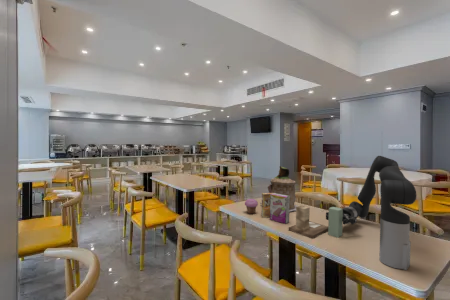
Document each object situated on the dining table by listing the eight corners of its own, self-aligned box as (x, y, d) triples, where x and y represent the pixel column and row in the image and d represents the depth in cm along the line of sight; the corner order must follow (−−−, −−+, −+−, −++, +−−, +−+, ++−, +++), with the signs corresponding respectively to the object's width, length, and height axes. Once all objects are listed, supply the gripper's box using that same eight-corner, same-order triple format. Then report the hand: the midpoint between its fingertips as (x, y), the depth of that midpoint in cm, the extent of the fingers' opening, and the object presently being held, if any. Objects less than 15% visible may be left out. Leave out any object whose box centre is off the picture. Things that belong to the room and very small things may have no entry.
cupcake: (246, 215, 144) (247, 200, 144) (243, 211, 153) (243, 197, 153) (259, 214, 146) (259, 199, 146) (255, 210, 154) (255, 196, 154)
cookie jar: (306, 210, 158) (307, 166, 158) (279, 214, 147) (280, 167, 147) (283, 202, 180) (283, 163, 180) (258, 205, 169) (259, 164, 169)
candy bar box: (269, 219, 136) (269, 194, 135) (273, 218, 139) (273, 192, 139) (285, 224, 128) (286, 197, 128) (289, 222, 132) (290, 195, 131)
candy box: (263, 217, 140) (263, 194, 140) (261, 215, 144) (261, 192, 144) (276, 217, 141) (276, 193, 141) (273, 215, 145) (274, 192, 145)
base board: (329, 229, 121) (330, 205, 120) (312, 238, 109) (313, 212, 108) (306, 222, 131) (307, 200, 131) (288, 230, 119) (289, 205, 119)
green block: (342, 235, 113) (342, 208, 113) (338, 237, 110) (338, 210, 110) (332, 232, 117) (333, 206, 117) (328, 234, 114) (328, 208, 114)
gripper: (334, 205, 129) (321, 209, 118) (361, 210, 118) (349, 216, 108) (334, 217, 129) (321, 223, 119) (361, 224, 118) (349, 231, 108)
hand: (335, 220), depth 113 cm, fingers open, 8 cm apart
